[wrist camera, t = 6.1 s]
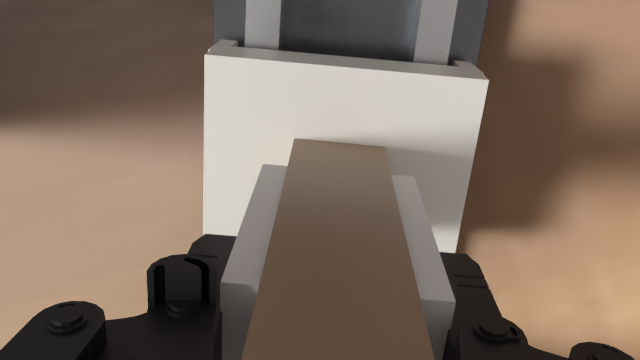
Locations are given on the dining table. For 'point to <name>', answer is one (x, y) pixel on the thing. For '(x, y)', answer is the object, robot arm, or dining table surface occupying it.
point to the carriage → (338, 189)
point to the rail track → (357, 28)
